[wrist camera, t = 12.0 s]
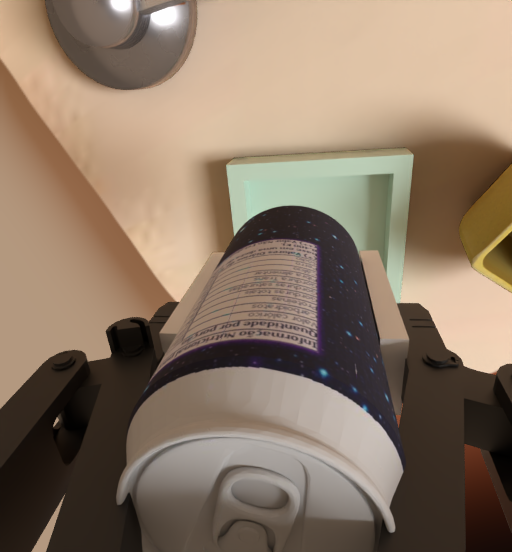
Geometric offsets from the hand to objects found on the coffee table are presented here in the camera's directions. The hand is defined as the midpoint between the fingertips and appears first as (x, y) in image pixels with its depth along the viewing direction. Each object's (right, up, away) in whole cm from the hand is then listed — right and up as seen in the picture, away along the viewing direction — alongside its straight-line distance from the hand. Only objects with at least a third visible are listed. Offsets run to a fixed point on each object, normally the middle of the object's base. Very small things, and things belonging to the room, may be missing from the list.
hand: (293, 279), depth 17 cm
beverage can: (0, +1, 0) cm, 1 cm away
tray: (+4, +4, +15) cm, 16 cm away
